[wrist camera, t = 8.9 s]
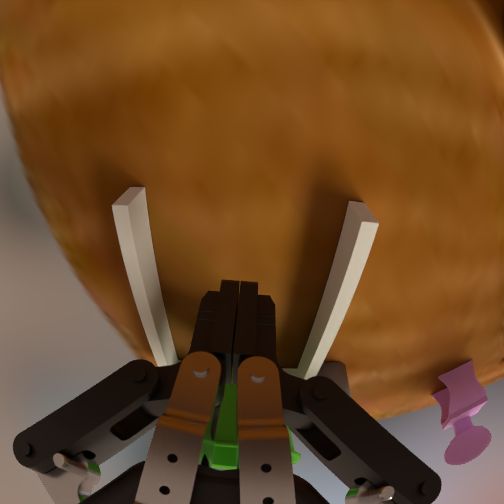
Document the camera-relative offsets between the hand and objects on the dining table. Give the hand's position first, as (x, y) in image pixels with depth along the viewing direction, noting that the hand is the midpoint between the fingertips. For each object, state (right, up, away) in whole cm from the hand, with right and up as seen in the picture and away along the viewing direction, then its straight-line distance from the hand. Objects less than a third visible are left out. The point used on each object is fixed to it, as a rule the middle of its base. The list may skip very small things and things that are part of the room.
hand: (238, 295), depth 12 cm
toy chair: (+32, -18, +19) cm, 41 cm away
